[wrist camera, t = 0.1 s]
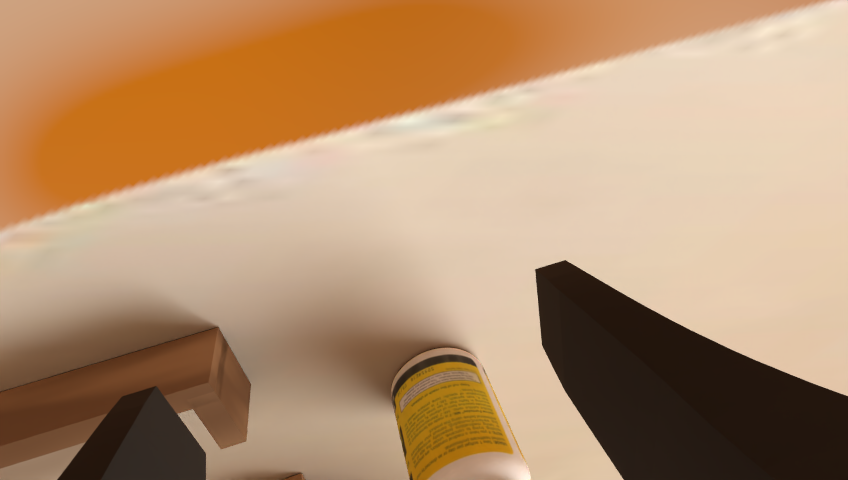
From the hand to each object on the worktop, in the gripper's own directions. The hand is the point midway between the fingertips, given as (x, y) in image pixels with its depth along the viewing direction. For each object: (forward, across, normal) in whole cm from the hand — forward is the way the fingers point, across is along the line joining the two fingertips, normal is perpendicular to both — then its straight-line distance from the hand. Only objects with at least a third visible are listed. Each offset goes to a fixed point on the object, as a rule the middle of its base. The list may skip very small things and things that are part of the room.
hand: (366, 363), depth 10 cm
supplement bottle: (+10, -2, +12) cm, 16 cm away
